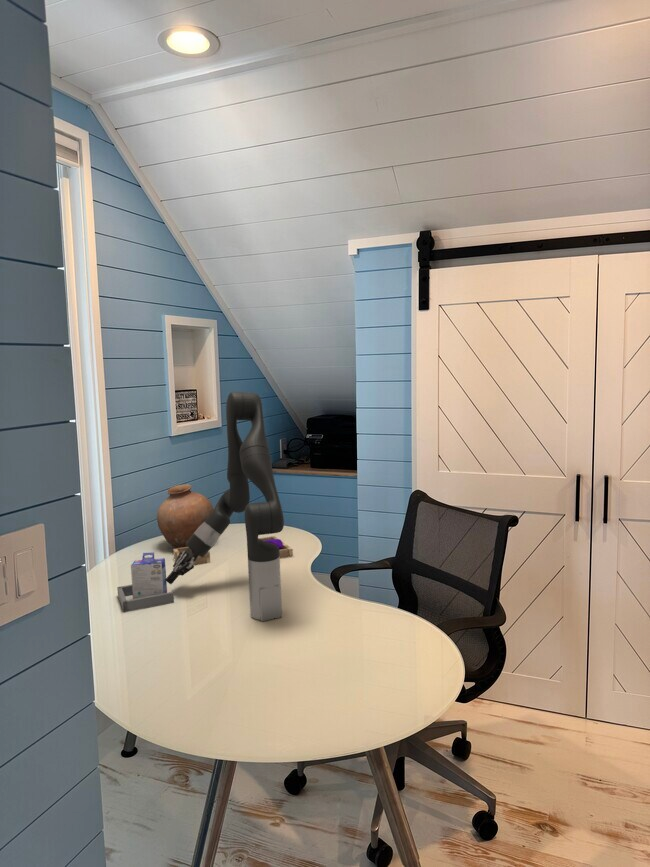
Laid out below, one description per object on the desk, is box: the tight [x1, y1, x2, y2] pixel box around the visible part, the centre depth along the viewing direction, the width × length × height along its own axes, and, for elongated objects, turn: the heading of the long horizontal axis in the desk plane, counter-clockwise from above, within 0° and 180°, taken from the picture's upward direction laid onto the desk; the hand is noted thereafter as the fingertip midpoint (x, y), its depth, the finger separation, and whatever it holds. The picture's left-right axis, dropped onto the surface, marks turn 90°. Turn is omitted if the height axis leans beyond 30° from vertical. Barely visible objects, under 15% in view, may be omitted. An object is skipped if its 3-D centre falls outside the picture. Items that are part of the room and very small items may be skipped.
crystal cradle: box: [258, 535, 294, 559], centre depth 234 cm, size 20×10×3 cm, turn 26°
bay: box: [117, 584, 175, 613], centre depth 190 cm, size 14×15×3 cm
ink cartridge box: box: [130, 552, 168, 599], centre depth 190 cm, size 10×6×14 cm, turn 95°
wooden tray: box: [172, 547, 211, 566], centre depth 226 cm, size 11×11×4 cm
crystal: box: [265, 538, 284, 550], centre depth 235 cm, size 5×5×15 cm
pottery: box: [156, 484, 215, 548], centre depth 244 cm, size 23×23×25 cm
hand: (168, 582), depth 193 cm, fingers closed
